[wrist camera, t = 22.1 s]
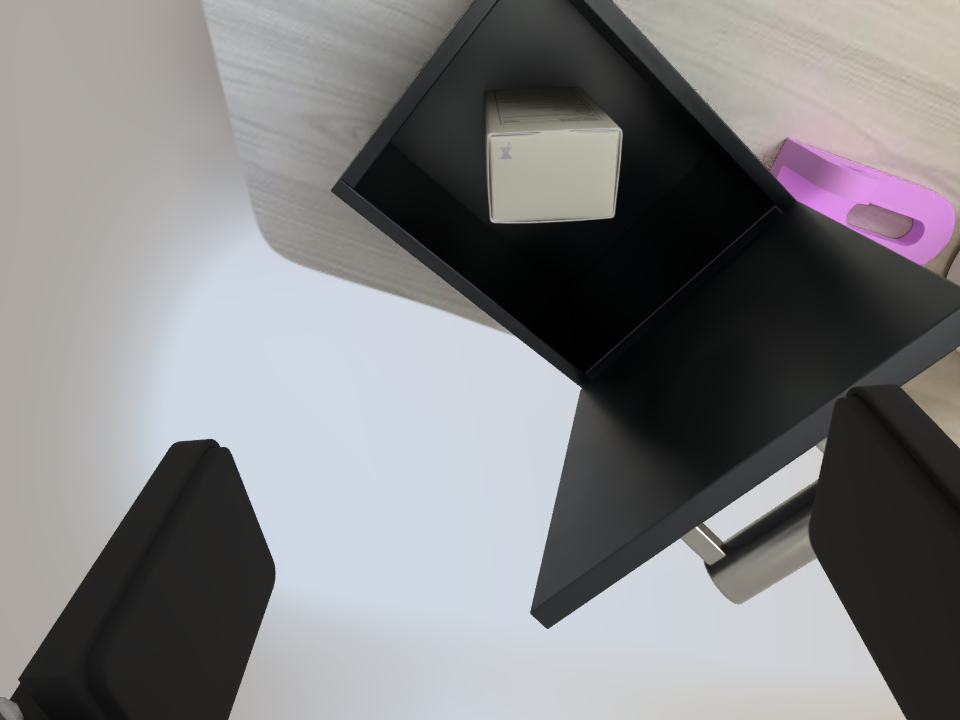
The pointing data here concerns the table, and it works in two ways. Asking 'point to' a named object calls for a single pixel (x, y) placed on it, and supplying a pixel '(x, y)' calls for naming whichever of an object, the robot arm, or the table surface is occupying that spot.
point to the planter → (955, 275)
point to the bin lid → (735, 407)
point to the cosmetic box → (549, 156)
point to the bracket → (865, 197)
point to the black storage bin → (571, 244)
